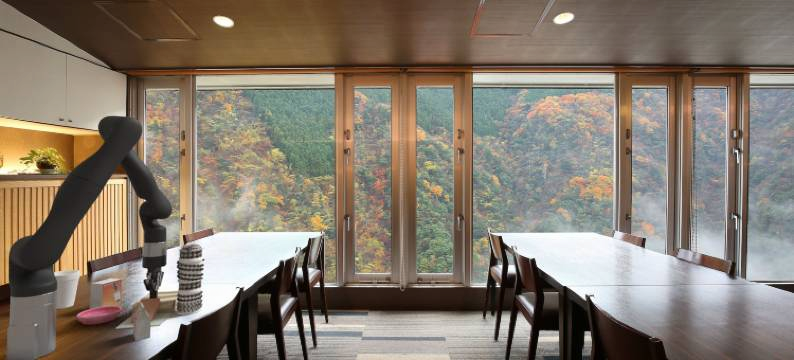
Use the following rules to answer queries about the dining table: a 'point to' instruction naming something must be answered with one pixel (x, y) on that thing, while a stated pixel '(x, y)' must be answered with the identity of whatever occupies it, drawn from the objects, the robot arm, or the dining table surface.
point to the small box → (106, 293)
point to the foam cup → (66, 287)
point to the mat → (156, 321)
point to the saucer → (99, 315)
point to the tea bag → (141, 323)
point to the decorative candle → (190, 280)
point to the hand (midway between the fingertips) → (153, 300)
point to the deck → (163, 302)
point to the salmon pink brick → (149, 307)
